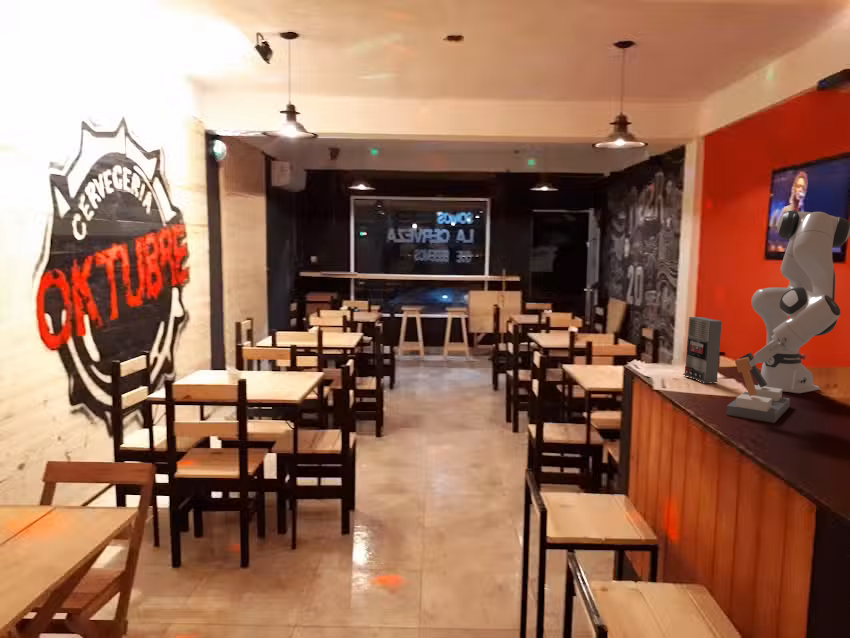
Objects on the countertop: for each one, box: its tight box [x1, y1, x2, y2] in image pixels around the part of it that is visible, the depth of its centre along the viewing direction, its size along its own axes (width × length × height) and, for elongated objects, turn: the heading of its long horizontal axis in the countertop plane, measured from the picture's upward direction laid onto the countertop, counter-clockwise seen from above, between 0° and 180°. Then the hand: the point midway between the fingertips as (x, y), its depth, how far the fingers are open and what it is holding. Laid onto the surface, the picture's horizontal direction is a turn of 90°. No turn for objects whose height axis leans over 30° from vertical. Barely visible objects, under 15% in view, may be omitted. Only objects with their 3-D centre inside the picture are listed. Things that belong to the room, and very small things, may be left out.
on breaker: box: [738, 352, 767, 387], centre depth 223 cm, size 3×4×12 cm
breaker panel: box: [725, 384, 791, 424], centre depth 214 cm, size 26×14×6 cm, turn 142°
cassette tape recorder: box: [683, 316, 723, 384], centre depth 260 cm, size 14×6×25 cm, turn 12°
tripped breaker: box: [734, 357, 757, 396], centre depth 208 cm, size 3×4×12 cm
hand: (750, 364), depth 207 cm, fingers closed, pressing on tripped breaker
